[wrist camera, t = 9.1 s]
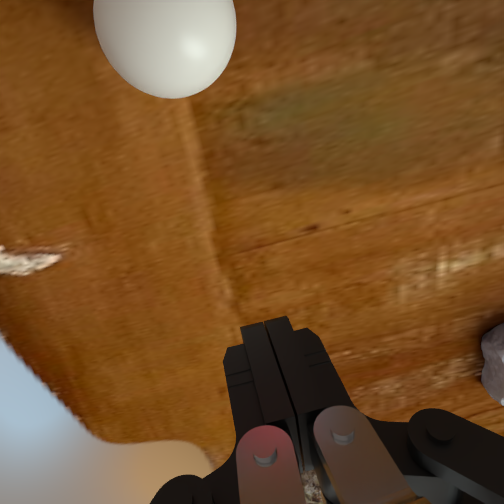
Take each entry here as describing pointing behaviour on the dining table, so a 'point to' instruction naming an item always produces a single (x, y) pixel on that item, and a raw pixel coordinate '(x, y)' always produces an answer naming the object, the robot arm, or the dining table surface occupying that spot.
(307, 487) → the mineral rock
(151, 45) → the cue ball
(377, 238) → the dining table surface
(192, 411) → the dining table surface
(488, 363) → the stone block
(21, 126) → the dining table surface
